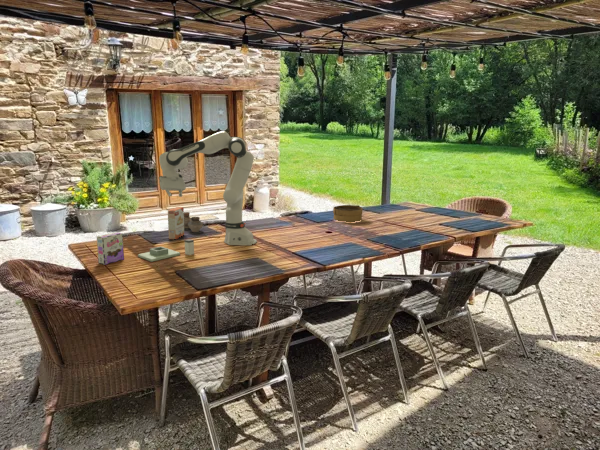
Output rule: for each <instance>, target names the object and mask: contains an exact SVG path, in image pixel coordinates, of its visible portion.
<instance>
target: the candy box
mask: <svg viewBox="0 0 600 450" xmlns="http://www.w3.org/2000/svg"><path fill="white" fill-rule="evenodd" d="M96 245H97V247H96V248H97V261H98V264H101V265H104V266H105V265H108V264H112V263H115V262H116V263H117V262H119V261H122V260H125V251H124V238H123V233H122V232H117V231H116V232H112V233H111V232H110V233H107V234H102V235H98V236H97V235H96Z"/></svg>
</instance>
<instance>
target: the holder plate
mask: <svg viewBox="0 0 600 450" xmlns="http://www.w3.org/2000/svg"><path fill="white" fill-rule="evenodd" d="M178 256H181V252H179V251H176V250H173V249H171V248H168V247H165V246H156V247H153V248H149V251H146V252H143V253H139V254H138V255H137V257H138V258H140V259H144V260H146V261H148V262H151V263H152V262H157V261H160V260H164V259H168V258H172V257H178Z"/></svg>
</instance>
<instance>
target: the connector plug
mask: <svg viewBox="0 0 600 450" xmlns="http://www.w3.org/2000/svg"><path fill="white" fill-rule="evenodd" d="M194 243H195V241H194V239H190V238H188V239H184V254H185V255H187V256H192V255H195V244H194Z"/></svg>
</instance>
